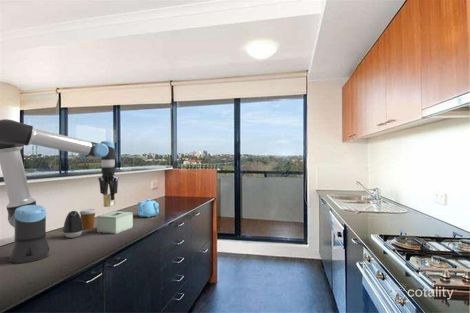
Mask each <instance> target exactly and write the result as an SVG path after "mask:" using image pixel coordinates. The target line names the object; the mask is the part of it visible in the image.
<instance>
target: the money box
mask: <svg viewBox="0 0 470 313" xmlns="http://www.w3.org/2000/svg"><path fill="white" fill-rule="evenodd" d="M133 214H134V213H133V212H132V211H131V212H130V211H119V210H118V211H116V210H115V211H111V212H108V213H104V214H100V215H97V216H96V232H97V233H101V232H102V233H103V234H112V233H113V235H116V234H119V233H122V232H124V231H126V230H130V229H132V228H134V226H133V224H134V223H133V221H134V217H133V216H134V215H133ZM102 233H101V234H102Z"/></svg>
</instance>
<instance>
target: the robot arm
mask: <svg viewBox="0 0 470 313" xmlns="http://www.w3.org/2000/svg"><path fill="white" fill-rule="evenodd" d="M30 145H33V146H37V147H43V148H46V149H47V148H48V149H54V150H58V151H64V152H68V153H75V154H78V156H79V157H80V158H85V159H86V158H100V166H101V172H100V173H101V176H99V177H98V183H99V192H100V194H102V195H106V194H110V195H109V205H110V206H109V207H112V205H113V206H115V205H114V194H118V186H119V185H118V183H119V177H117V176H116V175H115V172H116V167H115V166H116V162H115V161H116V160H115V159H116V156H115V155H116V154H115V152H116V151H115V150H116V149H115V148H116V147H115V142H114V141H109V140H107V141H106V140H105V141H104V140H103V141H101V142H94V141H89V140H86V139H85V140H84V139H81V138H77V137H71V136H68V135H63V134H60V133H55V132H50V131H46V130H42V129H37V128H36V127H35V126H33V125H30V124H27V123H22V122H20V121H16V120H13V119H5V118H4V119H0V169H1V173H2V177H3V181H4V182H3V183H4V185H5V189H6V193H7V198H8V201H9V202H8V203H7V205H6V207H5V208H6V211H7V221H8V223H9V225H10V226H12V228H13V229H14V243H13V247H12V249H11V252H10V254H9V262H10V263H12V264H21V263H22V264H23V263H25V264H26V263H30V262H35V261H40V260H43V259H44V258H48V257H49V256H50V255H51V249H50V246H49V243H48V241H47V239H46V234H47V233H46V231H47V230H46V229H47V226H46V224H47V222H46V221H47V220H46V218H47V211H46V207H45V206H43V205H37V200H36V199H35V198H33V197H32V195H31V193H30V192H31V191H30V188H29V184H28V179H27V174H26V170H25V165H24V162H23V158H22V157H23V156H22V154H21V150H22V149H23V148H24V146H26V147H28V146H30ZM108 191H109V192H108Z"/></svg>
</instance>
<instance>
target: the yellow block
mask: <svg viewBox="0 0 470 313" xmlns="http://www.w3.org/2000/svg"><path fill="white" fill-rule="evenodd" d="M102 195H103V194H102ZM109 195H110V193H108V194H106V195H103V197H102V198H103V207H104V208H110V207H112V206H116V199H115V198H116V196H115V194H114V205H112V206H110V205H109Z"/></svg>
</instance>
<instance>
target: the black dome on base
mask: <svg viewBox="0 0 470 313" xmlns="http://www.w3.org/2000/svg"><path fill="white" fill-rule="evenodd" d="M62 228H63V229H62V233H63V234H64V236H65V237H66V238H68V239H75V238H78V237H79V236H81V235H82V233H83V230H84V229H83V224H82V220H81V215H80V212H78V211H76V210H71V211H69V212H68V214H67V215H66V217H65V219H64V223H63V227H62Z"/></svg>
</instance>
